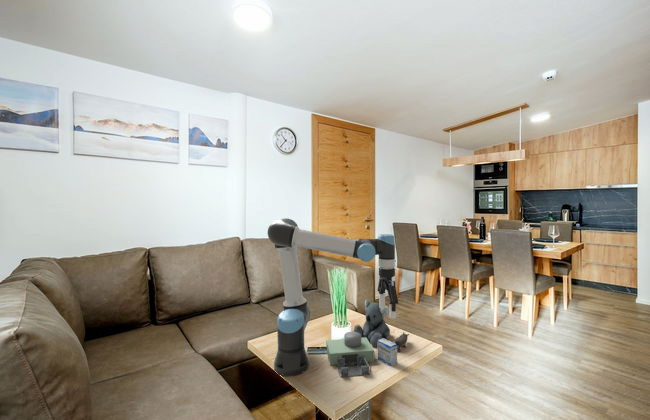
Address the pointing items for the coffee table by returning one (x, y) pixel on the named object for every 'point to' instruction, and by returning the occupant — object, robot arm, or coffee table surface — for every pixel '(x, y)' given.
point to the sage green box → (349, 348)
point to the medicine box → (387, 351)
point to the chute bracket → (353, 367)
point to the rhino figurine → (401, 341)
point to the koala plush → (374, 323)
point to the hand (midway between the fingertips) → (387, 312)
